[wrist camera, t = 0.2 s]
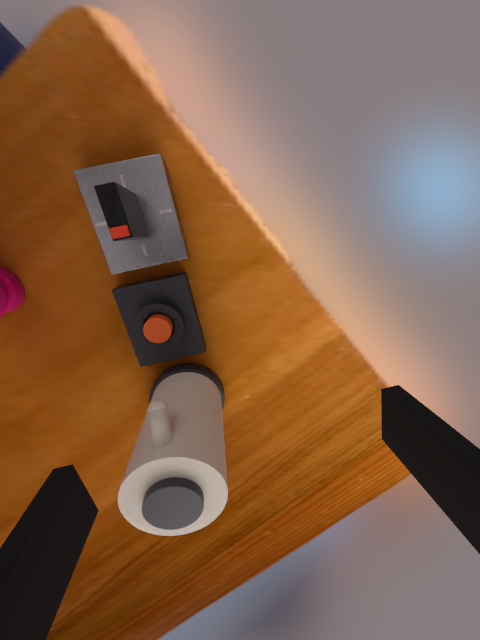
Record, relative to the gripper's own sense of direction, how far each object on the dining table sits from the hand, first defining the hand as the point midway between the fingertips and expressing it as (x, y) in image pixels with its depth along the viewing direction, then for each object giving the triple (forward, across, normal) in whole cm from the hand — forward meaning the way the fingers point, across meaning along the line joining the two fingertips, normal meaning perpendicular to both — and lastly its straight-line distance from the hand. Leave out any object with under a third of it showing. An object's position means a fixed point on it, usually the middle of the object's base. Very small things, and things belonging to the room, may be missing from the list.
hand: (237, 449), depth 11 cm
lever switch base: (+29, -8, +12) cm, 32 cm away
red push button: (+25, -9, -2) cm, 27 cm away
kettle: (+29, -9, -16) cm, 34 cm away
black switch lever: (+26, -8, +13) cm, 30 cm away
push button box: (+29, -9, -2) cm, 30 cm away
